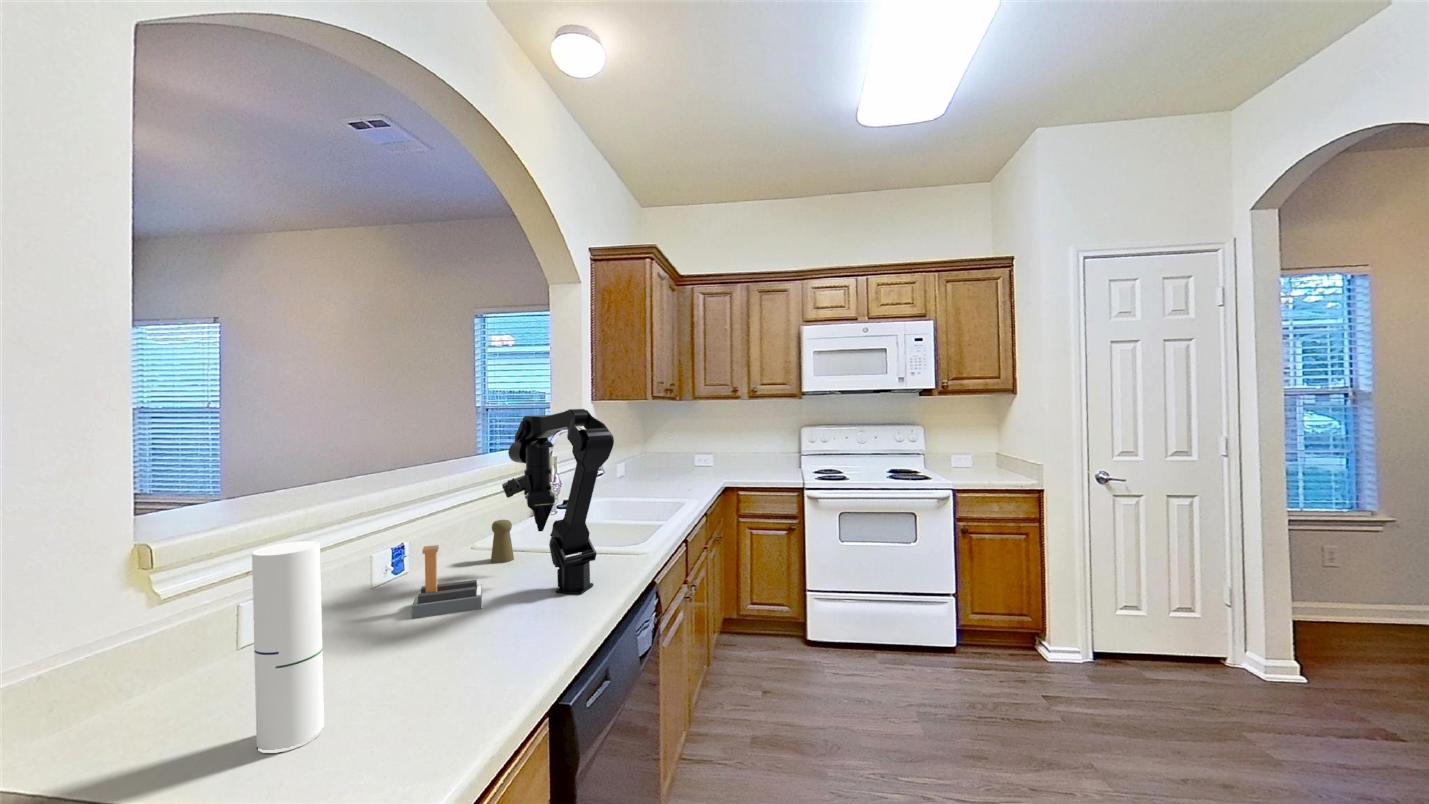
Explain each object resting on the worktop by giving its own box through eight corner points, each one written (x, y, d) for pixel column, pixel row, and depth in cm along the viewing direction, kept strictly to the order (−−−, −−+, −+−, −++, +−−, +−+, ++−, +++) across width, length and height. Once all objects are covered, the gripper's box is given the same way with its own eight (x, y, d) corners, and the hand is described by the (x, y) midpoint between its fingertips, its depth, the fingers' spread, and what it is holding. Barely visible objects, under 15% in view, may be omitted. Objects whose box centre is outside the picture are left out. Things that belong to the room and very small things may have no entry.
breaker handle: (439, 592, 123) (438, 545, 123) (438, 597, 120) (437, 548, 120) (425, 594, 122) (424, 546, 122) (423, 599, 119) (422, 550, 119)
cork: (506, 563, 154) (505, 522, 154) (486, 562, 155) (485, 522, 155) (518, 557, 160) (517, 518, 160) (498, 556, 161) (498, 517, 161)
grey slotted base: (482, 595, 129) (481, 577, 129) (481, 608, 121) (480, 590, 121) (417, 603, 124) (417, 585, 124) (412, 618, 116) (411, 598, 116)
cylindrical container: (280, 723, 79) (276, 542, 78) (335, 720, 79) (331, 540, 79) (242, 756, 71) (237, 556, 71) (302, 752, 72) (298, 554, 72)
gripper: (503, 463, 149) (504, 523, 149) (504, 471, 132) (505, 539, 132) (547, 460, 153) (548, 519, 153) (554, 468, 136) (555, 534, 136)
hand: (539, 527), depth 143 cm, fingers open, 9 cm apart
